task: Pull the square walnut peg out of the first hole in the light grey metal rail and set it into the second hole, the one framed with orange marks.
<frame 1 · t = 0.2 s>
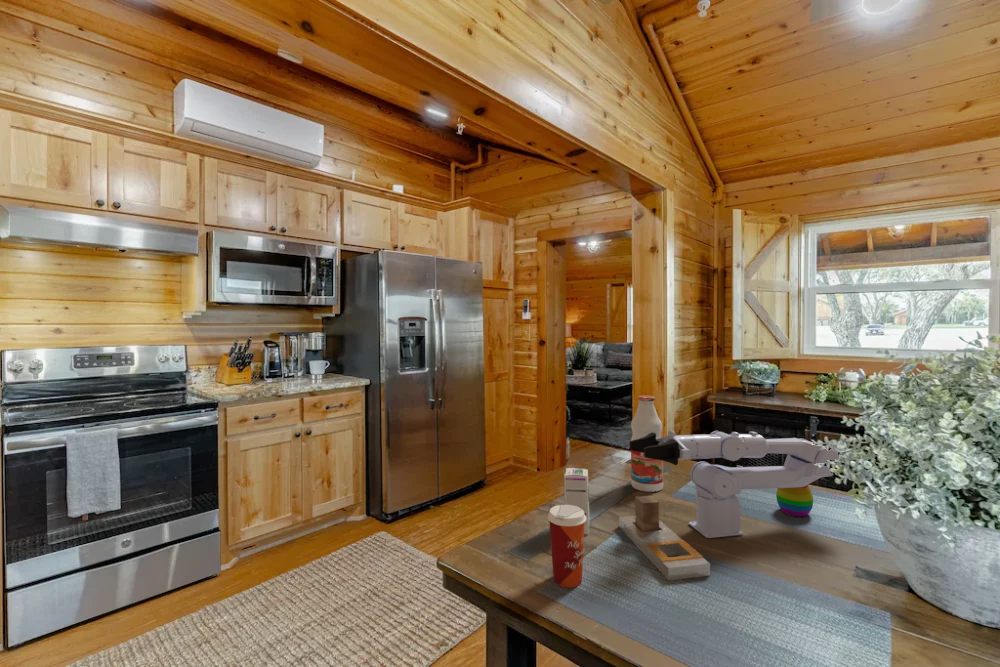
hand: (637, 449, 109), 21 cm above the table, tool horizontal, fingers open, 7 cm apart
paper cup: (567, 580, 93), on the table
fruit juice: (647, 487, 142), on the table
grey rail: (659, 548, 104), on the table
syrup box: (577, 529, 115), on the table
walnut peg: (647, 536, 110), resting in grey rail
decorative egg: (794, 513, 122), on the table
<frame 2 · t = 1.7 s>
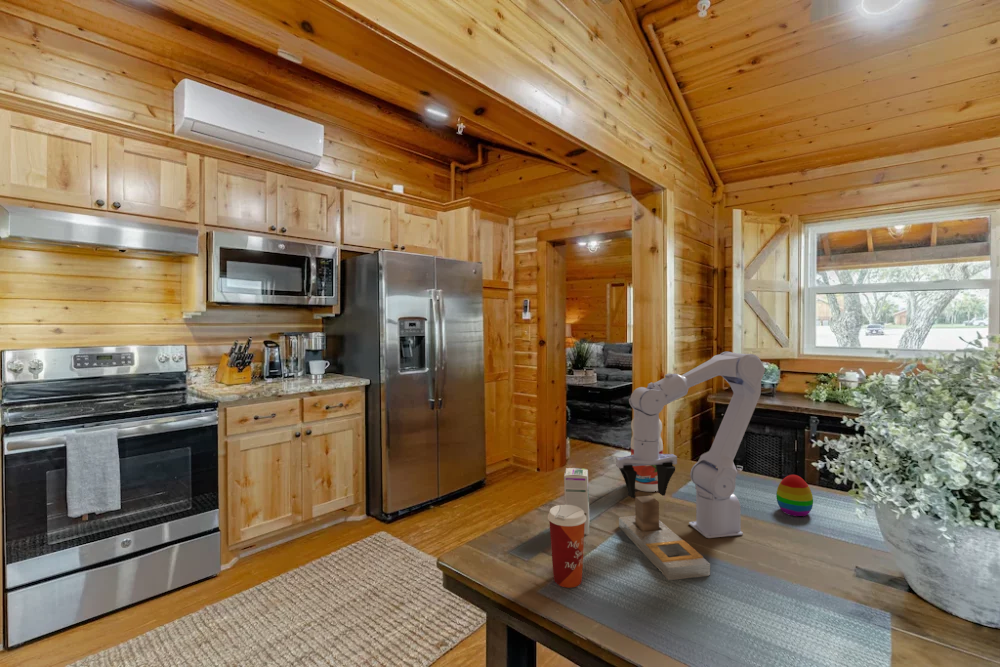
hand: (646, 495, 110), 10 cm above the table, tool pointing down, fingers open, 7 cm apart
nothing on the table moved.
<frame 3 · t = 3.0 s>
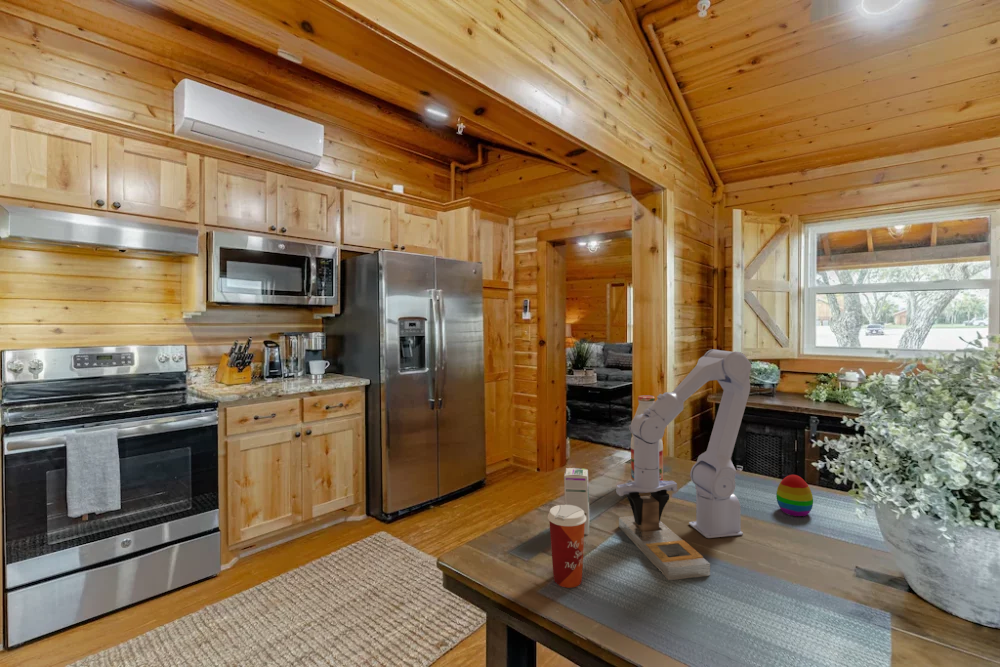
hand: (647, 522, 110), 3 cm above the table, tool pointing down, fingers closed on walnut peg, 4 cm apart
walnut peg: (647, 536, 110), resting in grey rail, touching gripper
everything else where it was.
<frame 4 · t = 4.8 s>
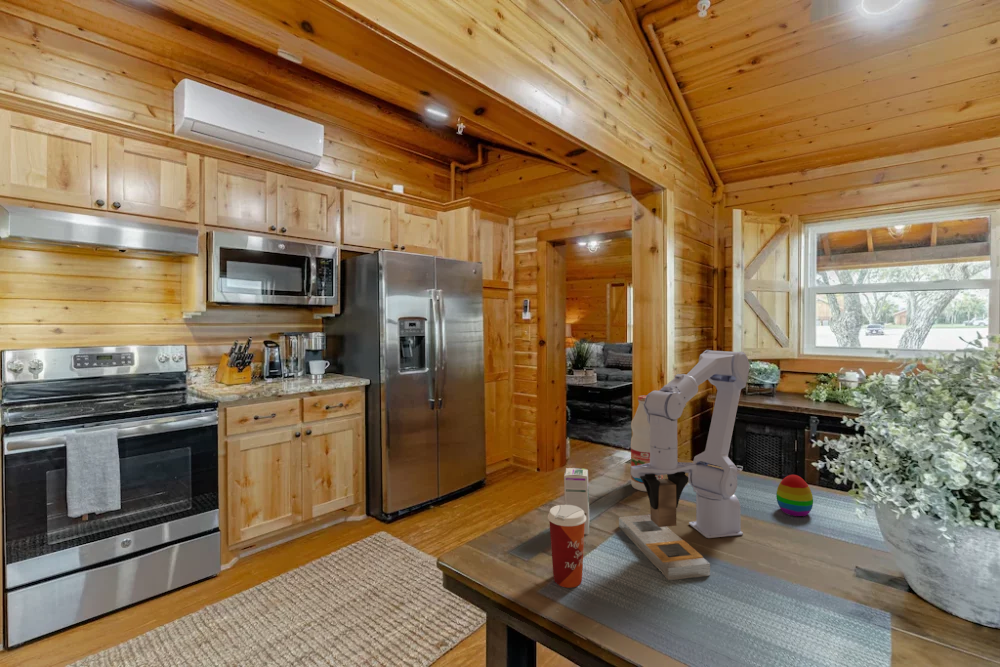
hand: (663, 506, 102), 10 cm above the table, tool pointing down, fingers closed on walnut peg, 4 cm apart
walnut peg: (663, 522, 102), point 7 cm above the table, touching gripper
everything else where it was.
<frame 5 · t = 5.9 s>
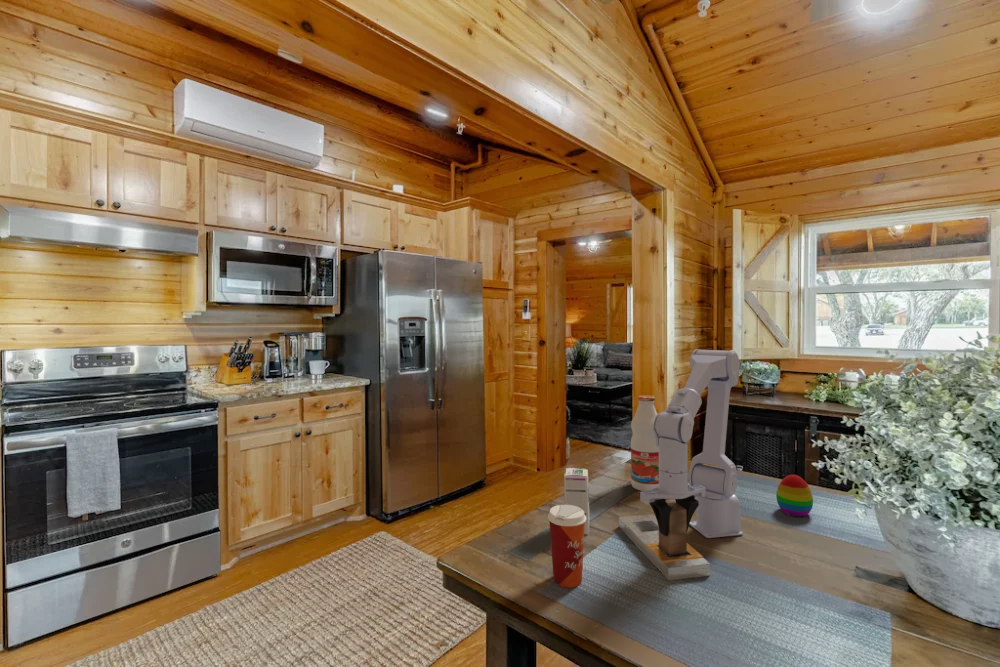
hand: (673, 532, 98), 6 cm above the table, tool pointing down, fingers closed on walnut peg, 4 cm apart
walnut peg: (672, 548, 99), point 3 cm above the table, touching gripper
everything else where it was.
when the fingers open (4 cm above the table, at t = 6.7 s): walnut peg stays where it is, resting in grey rail.
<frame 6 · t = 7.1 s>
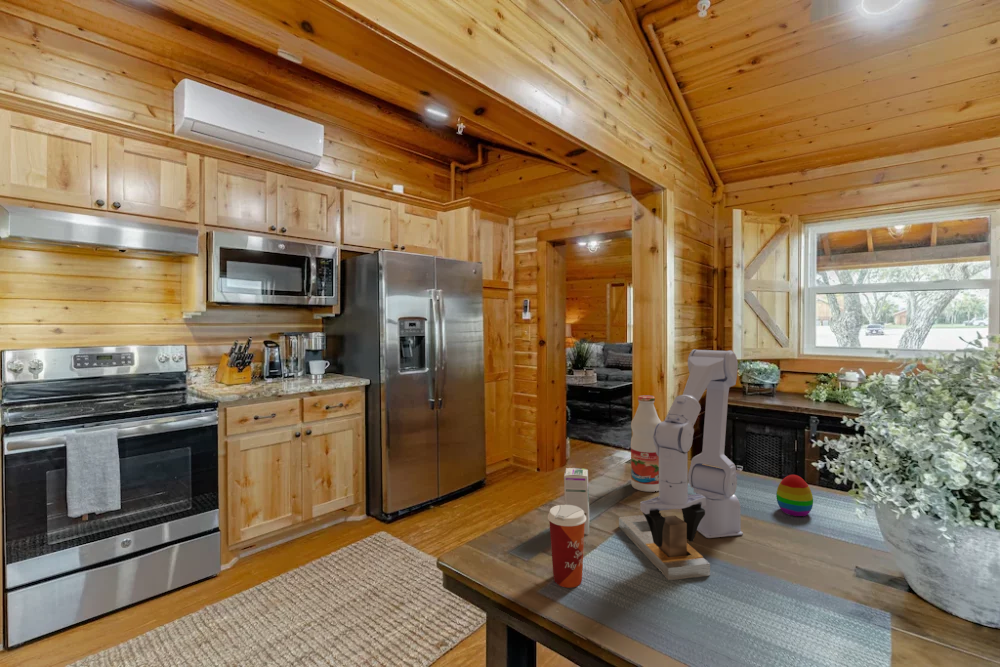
hand: (673, 542, 98), 4 cm above the table, tool pointing down, fingers open, 7 cm apart
walnut peg: (672, 561, 99), resting in grey rail
everything else where it was.
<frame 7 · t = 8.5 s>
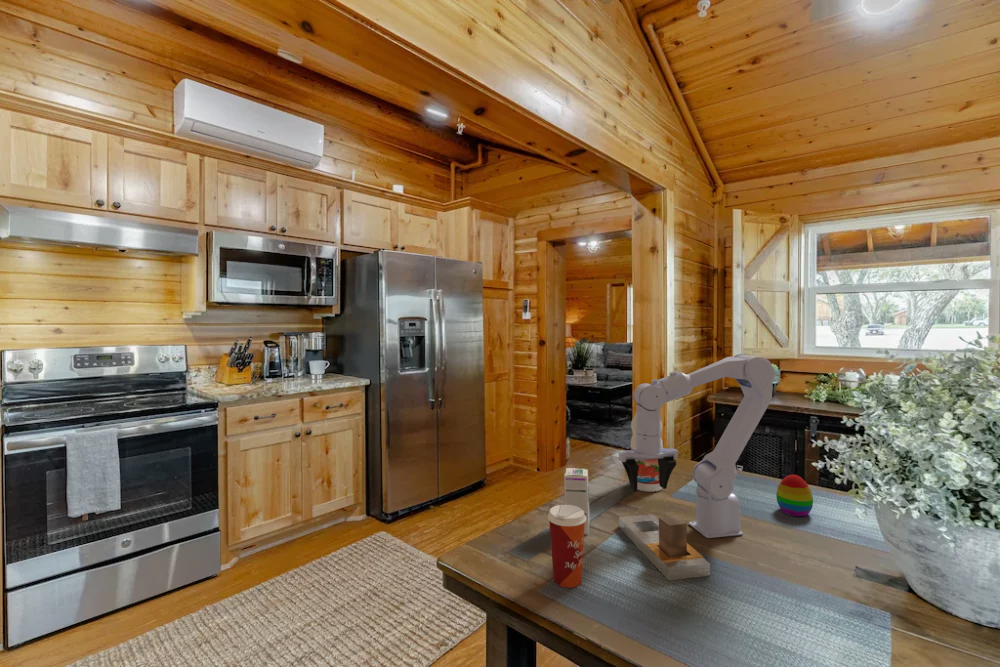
hand: (648, 488, 113), 10 cm above the table, tool pointing down, fingers open, 7 cm apart
nothing on the table moved.
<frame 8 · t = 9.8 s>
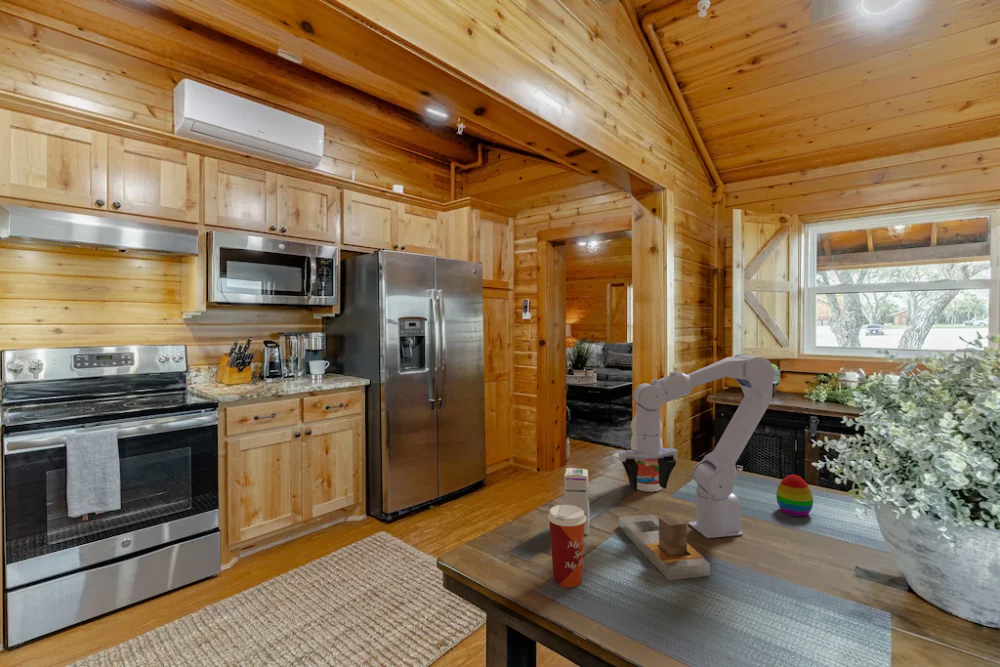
hand: (648, 488, 113), 10 cm above the table, tool pointing down, fingers open, 7 cm apart
nothing on the table moved.
at the end: walnut peg 0.3 cm from the target spot on the grey rail, point 0.0 cm above the grey rail's base; walnut peg tilted 0°; the gripper is holding nothing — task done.
